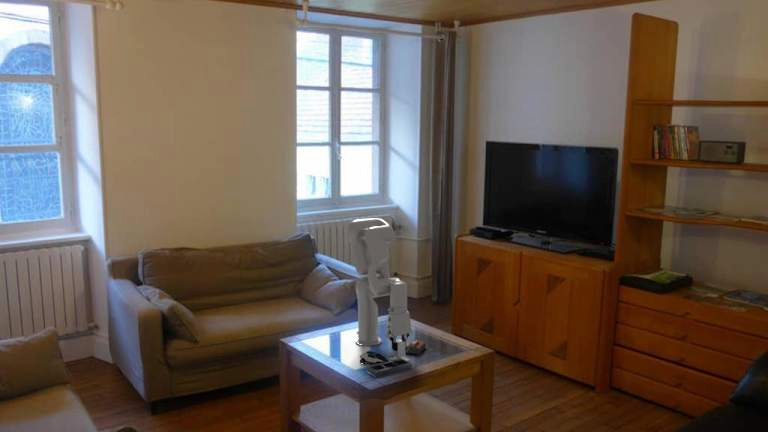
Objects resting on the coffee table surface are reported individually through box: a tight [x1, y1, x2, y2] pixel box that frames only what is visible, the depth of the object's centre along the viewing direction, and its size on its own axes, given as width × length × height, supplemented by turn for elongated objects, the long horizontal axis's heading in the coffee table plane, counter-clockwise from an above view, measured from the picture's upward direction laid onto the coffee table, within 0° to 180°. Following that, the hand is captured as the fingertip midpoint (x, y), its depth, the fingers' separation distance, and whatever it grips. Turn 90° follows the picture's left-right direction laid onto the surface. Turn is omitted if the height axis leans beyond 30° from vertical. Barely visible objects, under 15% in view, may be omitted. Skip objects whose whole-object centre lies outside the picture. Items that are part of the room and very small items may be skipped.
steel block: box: [392, 338, 406, 358], centre depth 302 cm, size 4×4×7 cm
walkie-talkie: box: [405, 339, 426, 355], centre depth 313 cm, size 9×4×20 cm
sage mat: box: [387, 356, 411, 362], centre depth 303 cm, size 7×7×1 cm
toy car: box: [359, 350, 390, 365], centre depth 298 cm, size 6×12×5 cm, turn 57°
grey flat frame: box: [366, 358, 413, 378], centre depth 290 cm, size 18×8×2 cm, turn 122°
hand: (399, 348), depth 302 cm, fingers closed on steel block, 3 cm apart
